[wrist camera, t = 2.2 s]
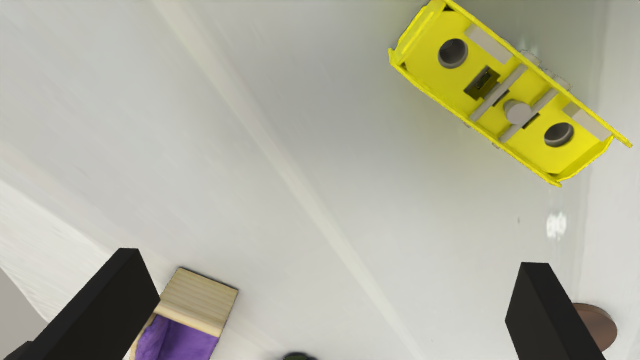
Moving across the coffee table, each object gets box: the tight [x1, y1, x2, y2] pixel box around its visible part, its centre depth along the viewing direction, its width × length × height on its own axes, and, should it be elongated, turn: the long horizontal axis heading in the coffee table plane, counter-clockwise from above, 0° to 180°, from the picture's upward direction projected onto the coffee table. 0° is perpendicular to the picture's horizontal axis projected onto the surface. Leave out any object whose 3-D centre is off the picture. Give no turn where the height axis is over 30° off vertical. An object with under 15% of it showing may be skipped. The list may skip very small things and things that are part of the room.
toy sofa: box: [129, 268, 238, 360], centre depth 46 cm, size 21×9×10 cm, turn 157°
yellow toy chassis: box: [388, 0, 633, 187], centre depth 25 cm, size 16×6×8 cm, turn 57°
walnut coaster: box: [573, 304, 617, 352], centre depth 41 cm, size 9×9×1 cm
